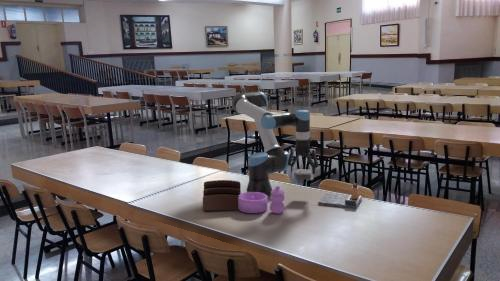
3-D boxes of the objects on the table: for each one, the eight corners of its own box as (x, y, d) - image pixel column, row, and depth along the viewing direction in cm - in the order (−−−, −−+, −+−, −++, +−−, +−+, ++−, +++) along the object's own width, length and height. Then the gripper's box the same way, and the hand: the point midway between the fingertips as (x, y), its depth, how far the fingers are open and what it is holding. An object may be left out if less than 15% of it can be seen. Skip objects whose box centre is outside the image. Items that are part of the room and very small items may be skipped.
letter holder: (204, 204, 221) (203, 179, 219) (240, 204, 222) (240, 179, 220) (202, 211, 211) (202, 185, 209) (240, 210, 212) (241, 184, 210)
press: (318, 204, 216) (318, 197, 216) (325, 196, 230) (325, 189, 229) (356, 208, 208) (356, 201, 207) (361, 199, 221) (361, 192, 220)
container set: (233, 210, 210) (233, 185, 207) (245, 201, 223) (245, 178, 221) (278, 218, 200) (279, 192, 197) (288, 208, 213) (289, 184, 211)
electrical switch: (294, 173, 225) (297, 166, 233) (294, 181, 226) (297, 174, 235) (311, 173, 222) (313, 166, 230) (311, 182, 224) (313, 175, 232)
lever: (351, 198, 218) (351, 184, 217) (352, 196, 221) (352, 183, 220) (357, 199, 217) (357, 185, 216) (358, 197, 220) (358, 183, 218)
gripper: (281, 138, 222) (281, 178, 226) (321, 141, 212) (320, 182, 217) (285, 136, 228) (286, 174, 233) (324, 138, 219) (324, 178, 223)
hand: (302, 178), depth 225 cm, fingers closed on electrical switch, 10 cm apart
